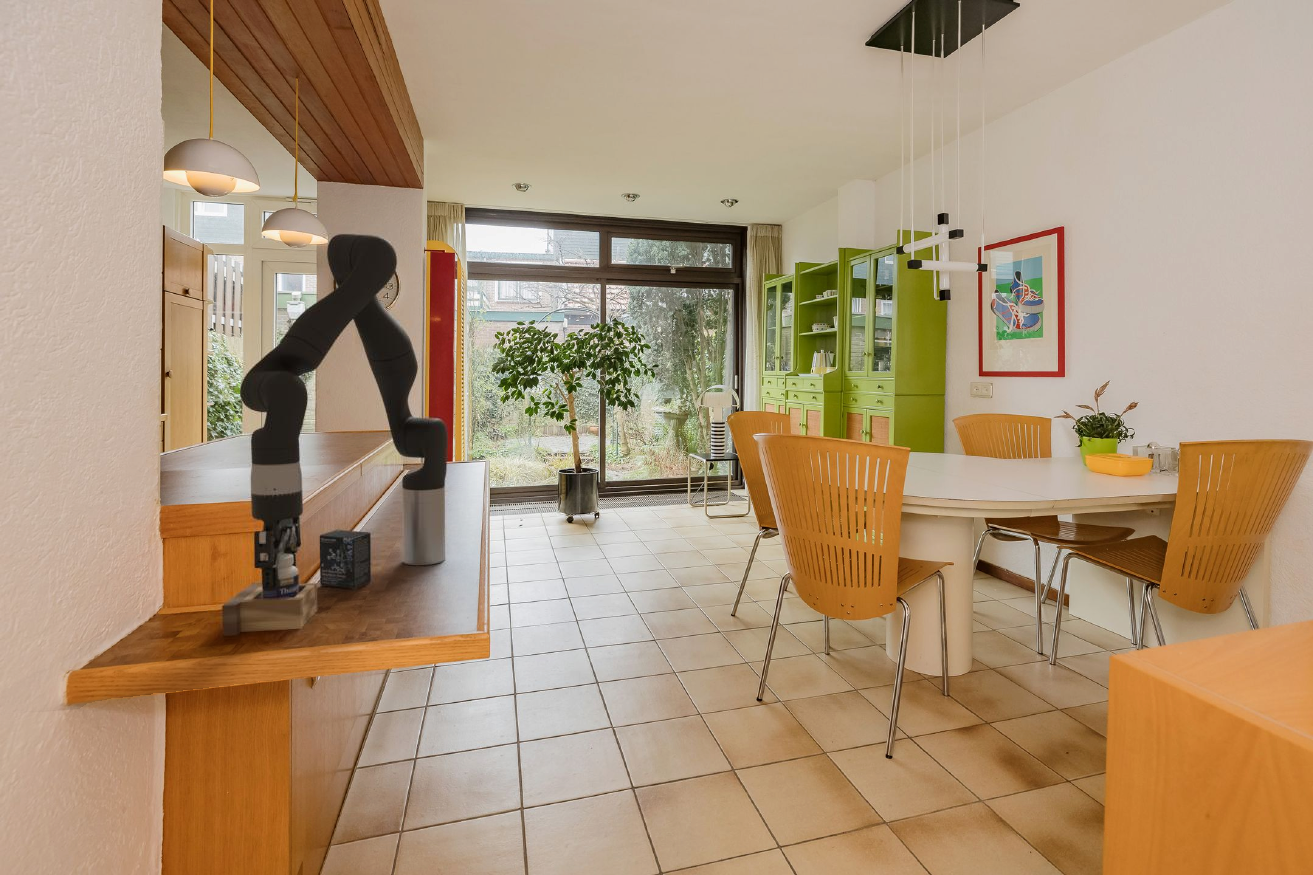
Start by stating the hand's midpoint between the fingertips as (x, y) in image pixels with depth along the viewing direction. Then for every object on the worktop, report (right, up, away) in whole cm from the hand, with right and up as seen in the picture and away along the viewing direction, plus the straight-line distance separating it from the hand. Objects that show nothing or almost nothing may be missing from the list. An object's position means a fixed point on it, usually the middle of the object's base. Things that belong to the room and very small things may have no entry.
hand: (280, 582), depth 111 cm
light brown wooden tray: (0, -7, 0) cm, 7 cm away
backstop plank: (-5, -7, -1) cm, 9 cm away
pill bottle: (0, -5, 0) cm, 5 cm away
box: (+1, -5, +21) cm, 22 cm away
